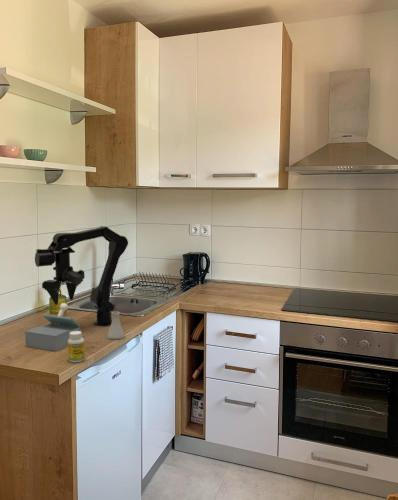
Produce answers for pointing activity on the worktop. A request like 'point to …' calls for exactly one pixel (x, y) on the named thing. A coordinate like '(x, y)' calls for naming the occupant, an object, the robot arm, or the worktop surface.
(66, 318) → the near flap
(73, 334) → the supplement bottle
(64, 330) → the carton
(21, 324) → the worktop surface
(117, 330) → the flask
